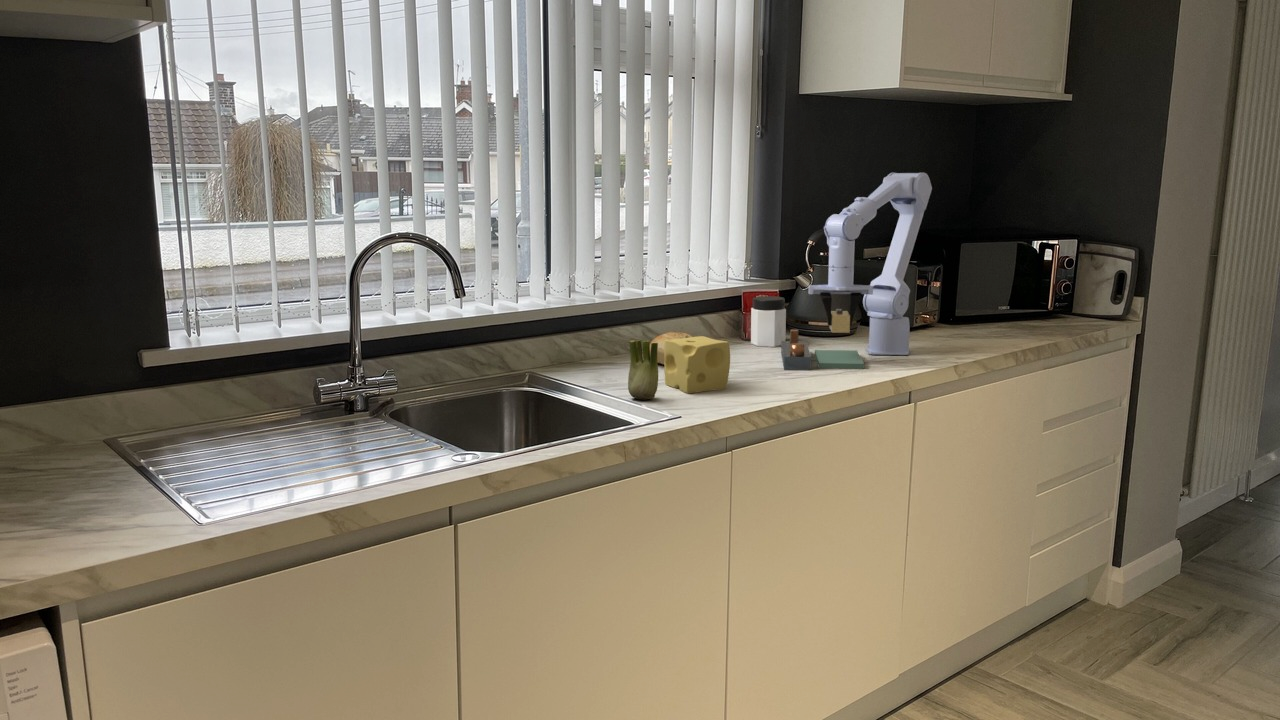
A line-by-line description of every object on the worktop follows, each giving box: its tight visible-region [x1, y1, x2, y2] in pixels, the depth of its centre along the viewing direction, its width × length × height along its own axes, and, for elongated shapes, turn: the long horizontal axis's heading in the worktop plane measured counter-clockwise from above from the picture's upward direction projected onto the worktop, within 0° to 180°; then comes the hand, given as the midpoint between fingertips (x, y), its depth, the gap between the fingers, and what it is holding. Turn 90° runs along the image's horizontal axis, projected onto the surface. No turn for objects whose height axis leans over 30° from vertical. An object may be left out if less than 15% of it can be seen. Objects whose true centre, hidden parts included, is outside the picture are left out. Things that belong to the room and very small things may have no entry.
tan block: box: [828, 308, 851, 334], centre depth 227 cm, size 7×4×5 cm, turn 174°
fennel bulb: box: [627, 339, 659, 401], centre depth 194 cm, size 6×5×12 cm
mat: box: [814, 349, 865, 370], centre depth 229 cm, size 10×16×1 cm, turn 174°
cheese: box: [663, 335, 731, 395], centre depth 204 cm, size 10×11×10 cm
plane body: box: [780, 329, 812, 371], centre depth 230 cm, size 20×6×6 cm, turn 174°
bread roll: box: [650, 331, 693, 365], centre depth 226 cm, size 10×15×8 cm, turn 40°
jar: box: [750, 295, 787, 348], centre depth 251 cm, size 9×8×12 cm
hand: (839, 324), depth 227 cm, fingers closed on tan block, 4 cm apart
